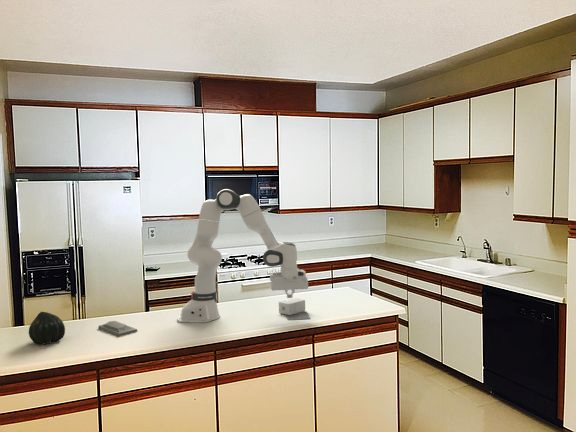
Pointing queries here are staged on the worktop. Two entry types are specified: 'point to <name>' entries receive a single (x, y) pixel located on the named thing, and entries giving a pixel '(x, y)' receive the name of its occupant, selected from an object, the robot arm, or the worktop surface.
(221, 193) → the robot arm
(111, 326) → the soap mold
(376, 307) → the worktop surface
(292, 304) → the small box
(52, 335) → the squash
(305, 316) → the mat
